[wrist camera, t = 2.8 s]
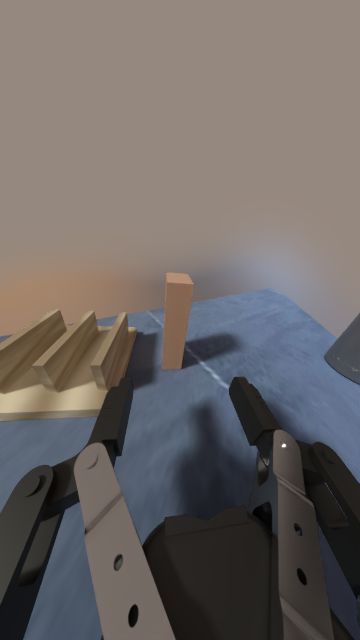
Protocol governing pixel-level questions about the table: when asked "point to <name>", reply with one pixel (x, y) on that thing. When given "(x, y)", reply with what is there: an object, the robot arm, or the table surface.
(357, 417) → the table surface
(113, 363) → the wooden slotted stand
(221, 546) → the robot arm
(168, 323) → the clay slat
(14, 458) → the table surface
